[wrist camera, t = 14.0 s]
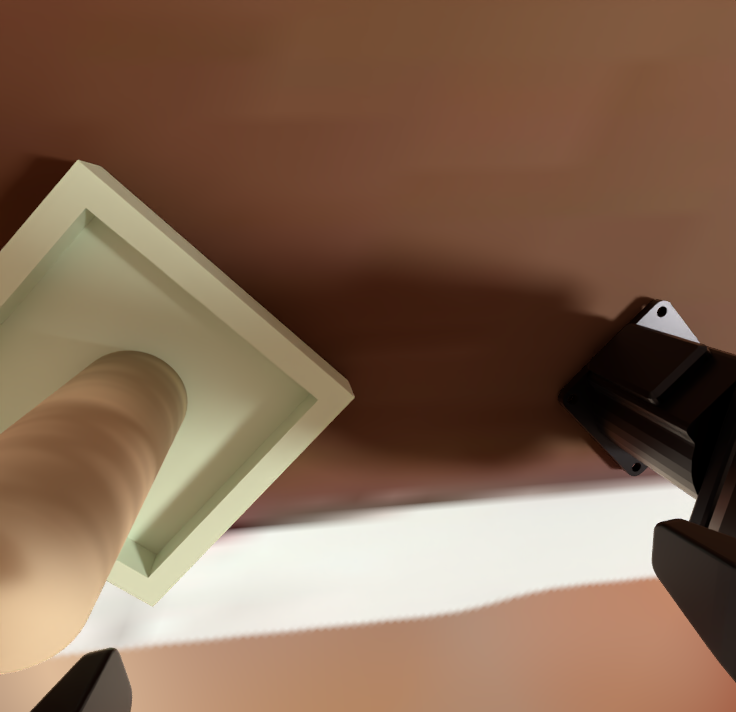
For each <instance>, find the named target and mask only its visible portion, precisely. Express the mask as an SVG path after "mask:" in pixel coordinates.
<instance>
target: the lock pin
mask: <svg viewBox="0 0 736 712" xmlns="http://www.w3.org/2000/svg"><path fill="white" fill-rule="evenodd" d="M187 404H188V401H187V393H186V389H185V386H184V384H183V382H182V380H181V378H180V377H179V375H178V374H177V372H176V371H175V370H174V369H173V368H172V367H171V366H170V365H168V364H167V363H166V362H164V361H163V360H161V359H160V358H158V357H156V356H153V355H151V354H148V353H144V352H140V351H117V352H113V353H110V354H107V355H104V356H102V357H100V358H99V359H97V360H96V361H94V362H93V363H91V364H90V365H89V366H88V367H86V368H85V369H84V370H82V371H81V372H80V373H79V374H77V375H76V376H75V377H73V378H72V379H71V380H69V381H68V382H67V383H66V384H64V385H63V386H62V387H60V388H59V389H58V390H57V391H55V392H54V393H53V394H51V395H50V396H49V397H47V398H46V399H45V400H44V401H42V402H41V403H40V404H38V405H37V406H36V407H35V408H33V409H32V410H31V411H29V412H28V413H27V414H25V415H24V416H23V417H22V418H20V419H19V420H18V421H16V422H15V423H14V424H13V425H11V426H10V427H9V428H7V429H6V430H5V431H3V432H2V433H1V434H0V675H2V674H8V673H12V672H17V671H20V670H24V669H27V668H30V667H33V666H35V665H37V664H40V663H42V662H44V661H46V660H48V659H50V658H51V657H53V656H55V655H56V654H58V653H59V652H60V651H62V650H63V649H64V648H66V647H67V646H68V645H69V644H70V643H71V642H72V641H73V640H74V639H75V638H76V636H77V635H78V634H79V633H80V632H81V630H82V628H83V627H84V625H85V623H86V622H87V620H88V618H89V615H90V613H91V611H92V609H93V607H94V605H95V603H96V601H97V599H98V597H99V595H100V593H101V590H102V588H103V586H104V584H105V582H106V580H107V578H108V576H109V574H110V572H111V570H112V568H113V566H114V563H115V561H116V559H117V557H118V555H119V553H120V551H121V549H122V547H123V545H124V543H125V541H126V539H127V536H128V534H129V532H130V530H131V528H132V526H133V524H134V522H135V520H136V518H137V516H138V514H139V512H140V509H141V507H142V505H143V503H144V501H145V499H146V497H147V495H148V493H149V491H150V489H151V487H152V484H153V482H154V480H155V478H156V476H157V474H158V472H159V470H160V468H161V466H162V464H163V462H164V460H165V457H166V455H167V453H168V451H169V449H170V447H171V445H172V443H173V441H174V439H175V437H176V435H177V433H178V430H179V428H180V426H181V424H182V422H183V420H184V418H185V415H186V411H187Z"/></svg>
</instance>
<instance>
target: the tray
mask: <svg viewBox="0 0 736 712" xmlns="http://www.w3.org/2000/svg"><path fill="white" fill-rule="evenodd" d="M117 351H140V352H144V353H148V354H151V355H153V356H156V357H158V358H160V359H161V360H163V361H164V362H166V363H167V364H168V365H170V366H171V367H172V368H173V369H174V370H175V371H176V372H177V374H178V375H179V377H180V378H181V380H182V382H183V384H184V386H185V389H186V393H187V401H188V404H187V411H186V415H185V418H184V420H183V422H182V424H181V426H180V428H179V430H178V433H177V435H176V437H175V439H174V441H173V443H172V445H171V447H170V449H169V451H168V453H167V455H166V457H165V460H164V462H163V464H162V466H161V468H160V470H159V472H158V474H157V476H156V478H155V480H154V482H153V484H152V487H151V489H150V491H149V493H148V495H147V497H146V499H145V501H144V503H143V505H142V507H141V509H140V512H139V514H138V516H137V518H136V520H135V522H134V524H133V526H132V528H131V530H130V532H129V534H128V536H127V539H126V541H125V543H124V545H123V547H122V549H121V551H120V553H119V555H118V557H117V559H116V561H115V563H114V566H113V568H112V570H111V572H110V574H109V576H108V578H107V580H106V581H108V582H110V583H111V584H113V585H115V586H117V587H118V588H120V589H122V590H124V591H126V592H127V593H129V594H131V595H133V596H134V597H136V598H138V599H140V600H142V601H143V602H145V603H147V604H149V605H151V606H152V607H153V606H154V605H155V604H156V603H157V602H158V601H159V600H160V599H161V598H162V597H163V596H164V595H165V594H166V593H167V592H168V591H169V590H170V589H171V588H172V586H173V585H174V584H175V583H176V582H177V581H178V580H179V579H180V578H181V577H182V576H183V575H184V574H185V573H186V572H187V571H188V570H189V569H190V568H191V567H192V566H193V565H194V564H195V563H196V562H197V561H198V560H199V558H200V557H201V556H202V555H203V554H204V553H205V552H206V551H207V550H208V549H209V548H210V547H211V546H212V545H213V544H214V543H215V542H216V541H217V540H218V539H219V538H220V537H221V536H222V535H223V534H224V533H225V532H226V531H227V529H228V528H229V527H230V526H231V525H232V524H233V523H234V522H235V521H236V520H237V519H238V518H239V517H240V516H241V515H242V514H243V513H244V512H245V511H246V510H247V509H248V508H249V507H250V506H251V505H252V504H253V503H254V501H255V500H256V499H257V498H258V497H259V496H260V495H261V494H262V493H263V492H264V491H265V490H266V489H267V488H268V487H269V486H270V485H271V484H272V483H273V482H274V481H275V480H276V479H277V478H278V477H279V476H280V475H281V473H282V472H283V471H284V470H285V469H286V468H287V467H288V466H289V465H290V464H291V463H292V462H293V461H294V460H295V459H296V458H297V457H298V456H299V455H300V454H301V453H302V452H303V451H304V450H305V449H306V448H307V447H308V446H309V444H310V443H311V442H312V441H313V440H314V439H315V438H316V437H317V436H318V435H319V434H320V433H321V432H322V431H323V430H324V429H325V428H326V427H327V426H328V425H329V424H330V423H331V422H332V421H333V420H334V419H335V418H336V416H337V415H338V414H339V413H340V412H341V411H342V410H343V409H344V408H345V407H346V406H347V405H348V404H349V403H350V402H351V401H352V400H353V399H354V398H355V396H354V394H353V391H352V389H351V386H350V384H349V382H348V380H347V379H346V378H345V377H343V376H342V375H341V374H340V373H339V372H338V371H336V370H335V369H334V368H333V367H332V366H331V365H330V364H328V363H327V362H326V361H325V360H324V359H323V358H321V357H320V356H319V355H318V354H317V353H316V352H315V351H313V350H312V349H311V348H310V347H309V346H308V345H306V344H305V343H304V342H303V341H302V340H301V339H300V338H298V337H297V336H296V335H295V334H294V333H293V332H291V331H290V330H289V329H288V328H287V327H286V326H285V325H283V324H282V323H281V322H280V321H279V320H278V319H276V318H275V317H274V316H273V315H272V314H271V313H270V312H268V311H267V310H266V309H265V308H264V307H263V306H261V305H260V304H259V303H258V302H257V301H256V300H255V299H253V298H252V297H251V296H250V295H249V294H248V293H246V292H245V291H244V290H243V289H242V288H241V287H240V286H238V285H237V284H236V283H235V282H234V281H233V280H231V279H230V278H229V277H228V276H227V275H226V274H225V273H223V272H222V271H221V270H220V269H219V268H218V267H216V266H215V265H214V264H213V263H212V262H211V261H210V260H208V259H207V258H206V257H205V256H204V255H203V254H202V253H200V252H199V251H198V250H197V249H196V248H195V247H193V246H192V245H191V244H190V243H189V242H188V241H187V240H185V239H184V238H183V237H182V236H181V235H180V234H178V233H177V232H176V231H175V230H174V229H173V228H172V227H170V226H169V225H168V224H167V223H166V222H165V221H163V220H162V219H161V218H160V217H159V216H158V215H157V214H155V213H154V212H153V211H152V210H151V209H150V208H148V207H147V206H146V205H145V204H144V203H143V202H142V201H140V200H139V199H138V198H137V197H136V196H135V195H133V194H132V193H131V192H130V191H129V190H128V189H127V188H125V187H124V186H123V185H122V184H121V183H120V182H118V181H117V180H116V179H115V178H114V177H113V176H112V175H110V174H109V173H108V172H107V171H106V170H105V169H103V168H102V167H101V166H98V165H95V164H91V163H87V162H84V161H80V160H77V161H76V162H75V164H74V165H73V166H72V167H71V168H70V170H69V171H68V172H67V173H66V174H65V175H64V177H63V178H62V179H61V180H60V181H59V183H58V184H57V185H56V186H55V187H54V188H53V190H52V191H51V192H50V193H49V194H48V196H47V197H46V198H45V199H44V200H43V201H42V203H41V204H40V205H39V206H38V207H37V209H36V210H35V211H34V212H33V213H32V214H31V216H30V217H29V218H28V219H27V220H26V222H25V223H24V224H23V225H22V226H21V227H20V229H19V230H18V231H17V232H16V233H15V235H14V236H13V237H12V238H11V239H10V240H9V242H8V243H7V244H6V245H5V246H4V248H3V249H2V250H1V251H0V434H1V433H2V432H3V431H5V430H6V429H7V428H9V427H10V426H11V425H13V424H14V423H15V422H16V421H18V420H19V419H20V418H22V417H23V416H24V415H25V414H27V413H28V412H29V411H31V410H32V409H33V408H35V407H36V406H37V405H38V404H40V403H41V402H42V401H44V400H45V399H46V398H47V397H49V396H50V395H51V394H53V393H54V392H55V391H57V390H58V389H59V388H60V387H62V386H63V385H64V384H66V383H67V382H68V381H69V380H71V379H72V378H73V377H75V376H76V375H77V374H79V373H80V372H81V371H82V370H84V369H85V368H86V367H88V366H89V365H90V364H91V363H93V362H94V361H96V360H97V359H99V358H100V357H102V356H104V355H107V354H110V353H113V352H117Z"/></svg>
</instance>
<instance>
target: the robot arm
mask: <svg viewBox="0 0 736 712" xmlns="http://www.w3.org/2000/svg"><path fill="white" fill-rule="evenodd" d="M659 308H661V309H660V312H659V314H657V310H658V309H659ZM572 394H573V397H572V399H571V400H570V401H568V398H569V396H570V395H572ZM558 401H559V403H560V404H561V405H562V406H563V407H564V408H565V409H566V410H567V411H568V412H569V414H570V415H571V416H572V417H573V418H574V419H575V420H576V421H577V422H578V423H579V424H580V425H581V426H582V427H583V428H584V429H585V430H586V431H587V432H588V433H589V435H590V436H591V437H592V438H593V439H594V440H595V441H596V442H597V443H598V444H599V445H600V446H601V447H602V448H603V449H604V450H605V451H606V452H607V453H608V454H609V455H610V457H611V458H612V459H613V460H614V461H615V462H616V463H617V464H618V465H619V466H620V467H621V468H622V469H623V470H624V471H625V472H627V473H628V474H629V475H631V476H637V475H639V474H641V473H642V472H643V471H644V470H645V469H646V468H647V467H649V468H650V469H652V470H653V471H655V472H656V473H658V474H659V475H661V476H662V477H664V478H665V479H667V480H668V481H669V482H671V483H672V484H674V485H675V486H677V487H678V488H680V489H681V490H683V491H684V492H686V493H687V494H688V495H690V496H691V497H693V498H694V499H696V502H695V505H694V508H693V511H692V514H691V517H690V520H689V521H686V520H683V519H672V520H668V521H663V522H660V523H658V524H657V525H656V526H655V528H654V535H653V549H652V566H653V569H654V571H655V573H656V575H657V577H658V578H659V580H660V581H661V583H662V584H663V585H664V587H665V588H666V590H667V591H668V592H669V594H670V595H671V597H672V598H673V599H674V601H675V602H676V603H677V605H678V606H679V608H680V609H681V611H682V612H683V613H684V615H685V616H686V618H687V619H688V620H689V622H690V623H691V624H692V626H693V627H694V629H695V630H696V631H697V633H698V634H699V636H700V637H701V638H702V640H703V641H704V642H705V644H706V645H707V647H708V648H709V649H710V650H711V652H712V653H713V655H714V656H715V657H716V659H717V660H718V661H719V663H720V664H721V665H722V666H723V668H724V669H725V670H726V671H727V673H728V674H729V675H730V676H731V677H732V679H733V680H734V681H735V682H736V355H735V354H731V353H728V352H725V351H721V350H718V349H715V348H712V347H708V346H706V345H704V344H701V343H700V342H699V341H698V340H697V338H696V337H695V336H694V334H693V333H692V332H691V330H690V329H689V328H688V326H687V325H686V324H685V322H684V321H683V320H682V318H681V317H680V316H679V314H678V313H677V312H676V310H675V309H674V308H673V306H672V305H671V304H670V303H669V302H668V301H664V300H659V299H656V300H653V301H652V302H650V303H649V304H648V305H647V306H646V307H645V308H644V309H643V310H642V311H641V312H640V313H639V314H638V315H637V316H636V317H635V318H634V319H633V320H632V321H631V322H630V323H629V324H627V325H626V326H625V327H624V328H623V329H622V330H621V331H620V332H619V333H618V334H617V335H616V336H615V337H614V338H613V339H612V340H611V341H610V342H609V343H608V344H607V345H606V346H605V347H604V348H603V349H602V350H601V351H600V352H599V353H598V354H597V355H596V356H595V357H594V358H593V359H592V360H591V361H590V362H589V363H588V364H587V365H586V366H585V367H584V368H583V369H582V370H581V371H580V372H579V373H578V374H577V375H576V376H575V377H574V378H573V379H572V380H571V381H570V382H569V383H568V384H567V385H566V386H565V387H564V388H563V389H562V390H561V391H560V393H559V395H558ZM633 464H635V465H634V466H633ZM632 466H633V467H632ZM131 704H132V690H131V685H130V682H129V679H128V676H127V673H126V671H125V668H124V665H123V662H122V660H121V656H120V654H119V652H118V651H117V649H115V648H107V649H102V650H98V651H94V652H90V653H87V654H85V655H84V656H83V657H82V658H81V659H80V660H79V661H78V662H77V663H76V664H75V665H74V666H73V667H72V668H71V669H70V670H69V671H68V672H67V673H66V674H65V675H64V677H62V679H61V680H60V681H59V682H58V683H57V684H56V685H55V686H54V687H53V688H52V689H51V690H50V691H49V692H48V693H47V694H46V695H45V697H43V699H42V700H41V701H40V702H39V703H38V704H37V705H36V706H35V707H34V708H33V709H32V710H31V711H30V712H130V711H131Z"/></svg>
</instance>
